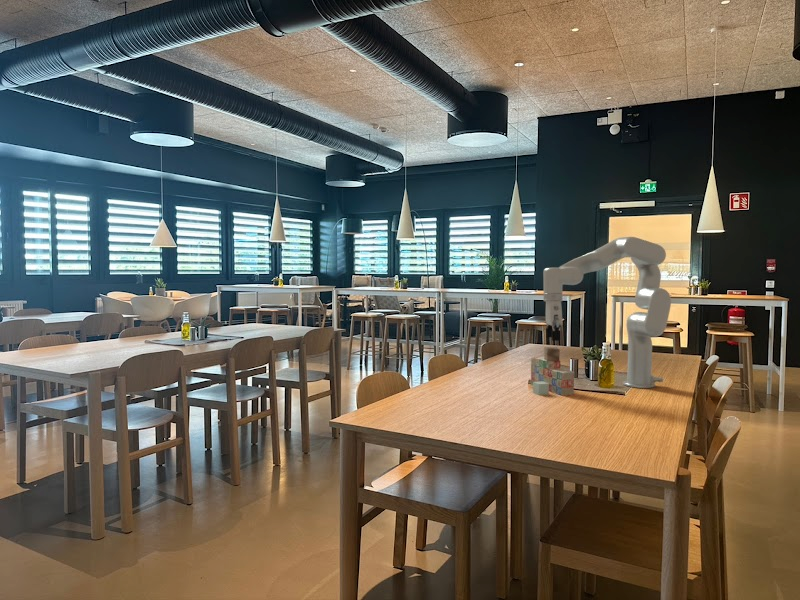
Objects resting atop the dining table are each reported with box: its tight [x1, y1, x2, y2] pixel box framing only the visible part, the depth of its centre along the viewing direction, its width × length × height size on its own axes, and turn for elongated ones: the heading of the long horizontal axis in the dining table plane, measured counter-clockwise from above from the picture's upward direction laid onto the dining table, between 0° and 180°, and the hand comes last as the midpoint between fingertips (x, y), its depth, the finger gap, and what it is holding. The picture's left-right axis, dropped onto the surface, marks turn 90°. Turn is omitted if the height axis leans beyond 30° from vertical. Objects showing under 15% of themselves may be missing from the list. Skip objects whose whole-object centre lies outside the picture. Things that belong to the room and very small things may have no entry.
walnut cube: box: [543, 346, 561, 361], centre depth 233 cm, size 5×5×5 cm
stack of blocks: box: [530, 356, 575, 396], centre depth 233 cm, size 21×6×12 cm, turn 20°
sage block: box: [532, 381, 550, 396], centre depth 225 cm, size 4×4×4 cm
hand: (553, 338), depth 233 cm, fingers open, 9 cm apart
